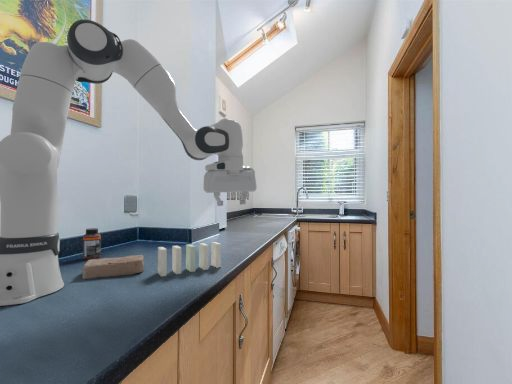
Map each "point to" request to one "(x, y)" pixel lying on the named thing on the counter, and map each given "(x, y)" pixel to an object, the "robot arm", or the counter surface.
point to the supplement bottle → (91, 244)
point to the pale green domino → (190, 257)
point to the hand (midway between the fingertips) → (231, 205)
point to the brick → (113, 266)
